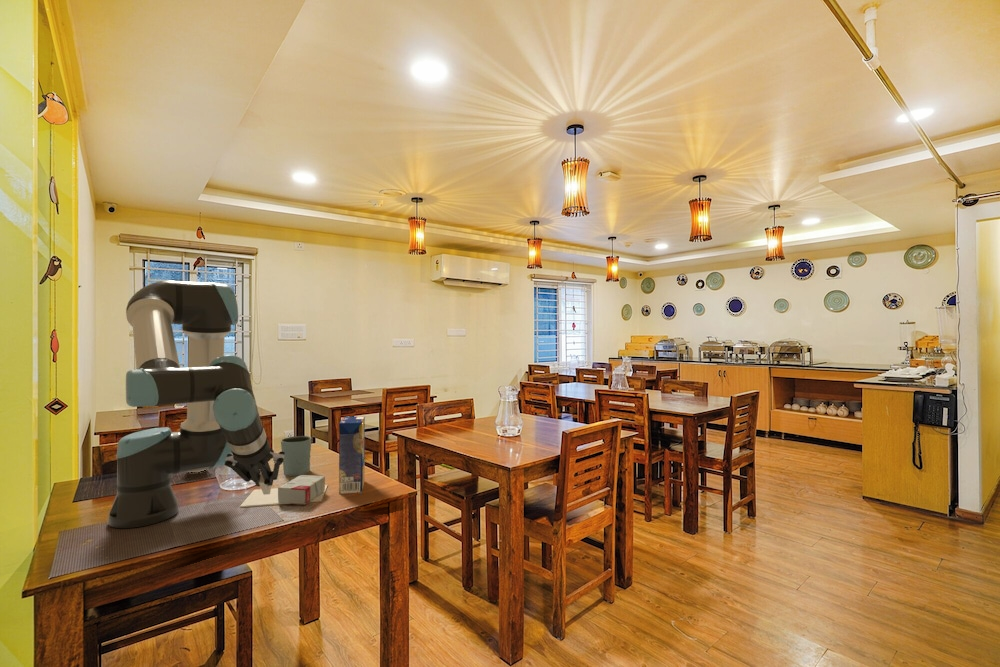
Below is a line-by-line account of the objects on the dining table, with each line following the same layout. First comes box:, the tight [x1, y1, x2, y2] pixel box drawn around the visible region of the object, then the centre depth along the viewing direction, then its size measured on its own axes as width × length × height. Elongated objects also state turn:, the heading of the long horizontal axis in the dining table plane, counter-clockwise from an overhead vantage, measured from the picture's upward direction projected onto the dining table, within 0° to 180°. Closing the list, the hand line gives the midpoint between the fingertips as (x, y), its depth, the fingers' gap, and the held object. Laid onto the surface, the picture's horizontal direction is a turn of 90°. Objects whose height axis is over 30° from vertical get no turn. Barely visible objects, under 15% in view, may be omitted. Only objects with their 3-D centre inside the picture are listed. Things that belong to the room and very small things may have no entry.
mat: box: [239, 484, 329, 508], centre depth 143 cm, size 22×14×1 cm, turn 103°
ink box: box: [277, 474, 326, 506], centre depth 141 cm, size 9×5×12 cm
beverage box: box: [338, 415, 366, 495], centre depth 151 cm, size 7×11×22 cm, turn 12°
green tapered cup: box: [280, 435, 312, 477], centre depth 167 cm, size 10×10×12 cm
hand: (267, 489), depth 121 cm, fingers closed
